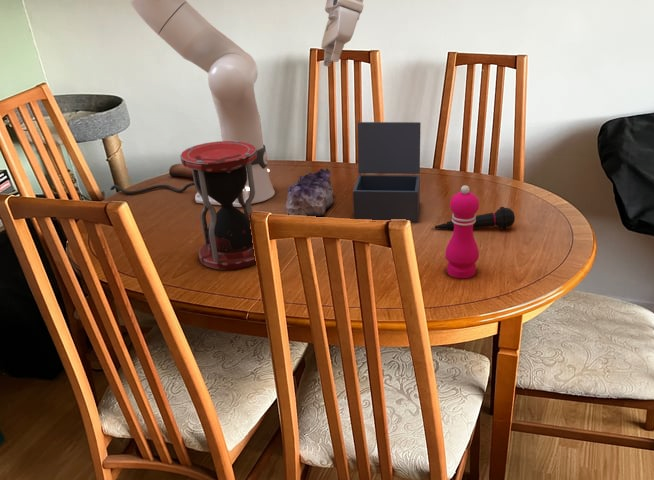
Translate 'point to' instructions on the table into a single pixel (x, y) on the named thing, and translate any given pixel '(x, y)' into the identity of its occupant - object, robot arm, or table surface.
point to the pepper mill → (463, 235)
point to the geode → (310, 194)
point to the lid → (389, 147)
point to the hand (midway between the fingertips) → (330, 63)
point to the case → (387, 197)
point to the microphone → (488, 220)
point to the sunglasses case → (180, 171)
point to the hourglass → (224, 201)
